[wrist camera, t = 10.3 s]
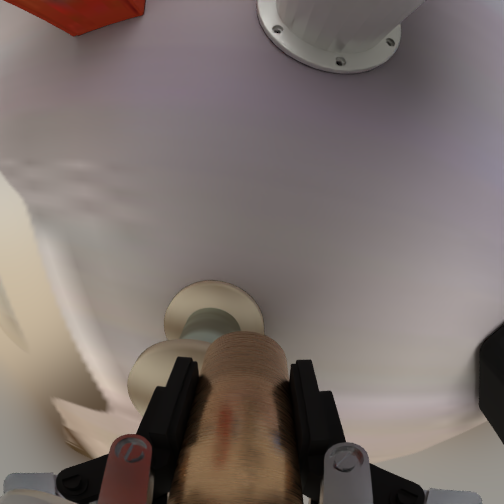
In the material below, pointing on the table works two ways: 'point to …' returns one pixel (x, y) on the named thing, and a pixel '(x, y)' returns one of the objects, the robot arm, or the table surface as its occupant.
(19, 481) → the robot arm
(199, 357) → the spool
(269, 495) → the copper pin
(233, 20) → the table surface
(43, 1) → the file binder
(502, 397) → the air purifier
